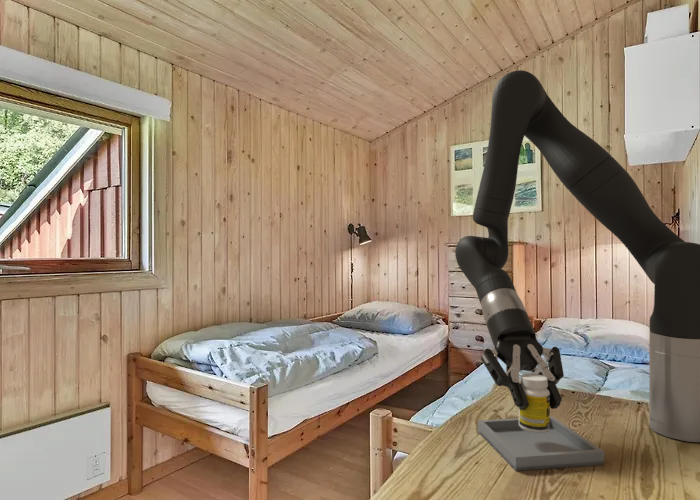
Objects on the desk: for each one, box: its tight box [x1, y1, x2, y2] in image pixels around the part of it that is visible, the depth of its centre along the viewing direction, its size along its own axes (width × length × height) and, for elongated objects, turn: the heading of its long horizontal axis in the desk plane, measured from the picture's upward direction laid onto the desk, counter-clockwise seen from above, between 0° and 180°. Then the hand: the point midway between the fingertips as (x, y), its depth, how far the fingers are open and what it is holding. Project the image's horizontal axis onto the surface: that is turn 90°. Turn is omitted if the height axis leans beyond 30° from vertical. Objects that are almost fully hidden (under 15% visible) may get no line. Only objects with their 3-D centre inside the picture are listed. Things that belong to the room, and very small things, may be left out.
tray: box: [477, 415, 605, 472], centre depth 75 cm, size 14×14×2 cm
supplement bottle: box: [518, 373, 551, 433], centre depth 75 cm, size 5×5×8 cm
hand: (540, 406), depth 73 cm, fingers closed on supplement bottle, 4 cm apart
